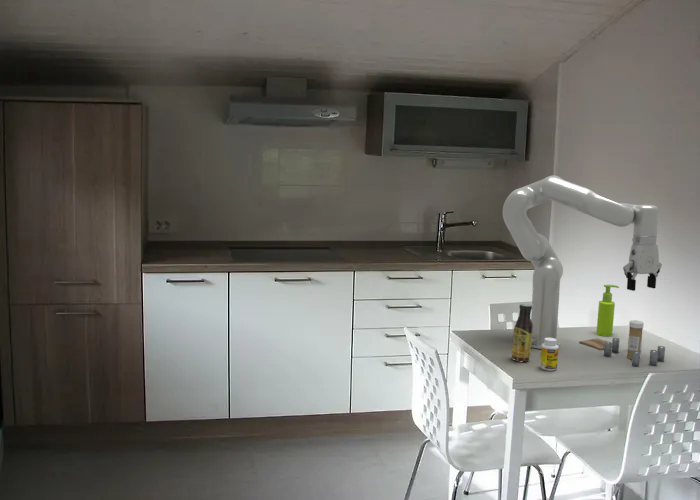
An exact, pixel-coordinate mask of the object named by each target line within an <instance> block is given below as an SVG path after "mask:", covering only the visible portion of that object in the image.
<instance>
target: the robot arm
mask: <svg viewBox="0 0 700 500" xmlns="http://www.w3.org/2000/svg"><path fill="white" fill-rule="evenodd" d="M549 201H551V202H554V203H557V204H560V205H562V206H564V207H567V208H570V209H572V210H575V211H577V212H580V213H581V214H584V215H588V216H590V217H592V218H595V219H597V220H600V221H603V222H605V223H607V224H611V225H613V226H616V227H621V228H623V227H624V228H625V227H627V226H629V225H631V224H633V233H632V234H633V235H632V239H631V241H632V244H631V247H630V251H629V257H628V262H627V264H625V265H624V266H623V268H622V269H623V272H624V273H623V274H624V275H625V278H626V279H627V282H626V289H627V290H629V291H632V292H635V291H636V285H637V279H636V277H637V275H647V279H646V281H647V284H646V287H647V288H650V289H656V286H657V278H658V276H659V273H660V272H661V269H662V266H663V264H662V263H661V262H660V261H659V260H660V256H659V246H658V244H657V237H658V236H657V235H658V222H659V207H658V206H657V205H653V204H631V203H626V202H616V201H613V200H611V199H608V198H607V197H606V198H605V197H603V196H601V195H599V194H597V193H596V192H594V191H593V190H591V189H590V188H588V187H584V186H582V185H579V184H577V183H575V182H571V181H568V180H565V179H563V178H562V177H561V176H558V175H555V174H554V175H549V176H546V177H545V178H543V179H540V180H537V181H535V182H533V183H530V184H527V185H525V186H522V187H520V188H516V189H514V190H513V191H512V192H510V194H509V195H508V196H507V197H506V199H505V201H504V203H503V207H502V219H503V221H504V224H505V226H506V228H507V229H508V232H509V233H510V234H511V237H512V239H513V241H514V243H515V244H516V246H517V248H518V250H519V251H520V253H521V255H522V257H523V258H524V259H525V260H526V261H528V262H530V263H531V264H532V266H533V268H534V270H533V275H532V299H531V305H532V309H531V314H530V316H531V317H530V319H531V321H532V323H533V329H532V342H531V348H534V349H537V350H538V349H539V350H541V346H542V344H543V343H544V339H545V338H555V339H557V335H558V334H557V331H558V319H559V304H560V287H561V278H562V276H563V275H564V274H563V273H564V267H563V264H562V263H561V260H560V259H559V257H558V255H557V253H556V252H555V250H554V248H553V247H552V245H551V243H550V242H549V240H548V239H547V237H546V236H545V235H543V234H541V233H538V232H537V230H536V229H535V227H534V225H533V223H532V221H531V219H530V218H529V217H528V214H527V211H528V210H529V209H531V208H534V207H536V206H539V205H542V204H545V203H547V202H549ZM557 345H558V346H559V348H560V347H561V343H560V341H558V340H557Z"/></svg>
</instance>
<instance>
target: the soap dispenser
mask: <svg viewBox="0 0 700 500" xmlns="http://www.w3.org/2000/svg"><path fill="white" fill-rule="evenodd" d="M603 287H604V288H605V291H604V292H603V293H602V300H599V301H598V311H597V323H596V333H595V334H596V335H598V336H601V337H613V328H614V317H615V316H614V315H615V304H616V303H615V302H614V301H613V294H612V293H611V288H617V289H619V288H620V287H619V286H618V285H615V284H603Z"/></svg>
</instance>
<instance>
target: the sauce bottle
mask: <svg viewBox="0 0 700 500" xmlns="http://www.w3.org/2000/svg"><path fill="white" fill-rule="evenodd" d="M531 312H532V303H531V304H530V303H524V302H522V303H520V304H519V314H518V318H517V320H516V322H515V325H514V327H513V335H512V344H511V345H512V346H511V347H512V348H511V359H512V358H513V359H515V360H518V361H517V362H519V361H526V362H529V361H530V357H531V348H532V347H531V342H532V329H533V323H532V321H531ZM513 359H512V360H513ZM515 360H514V361H515ZM528 360H529V361H528Z"/></svg>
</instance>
